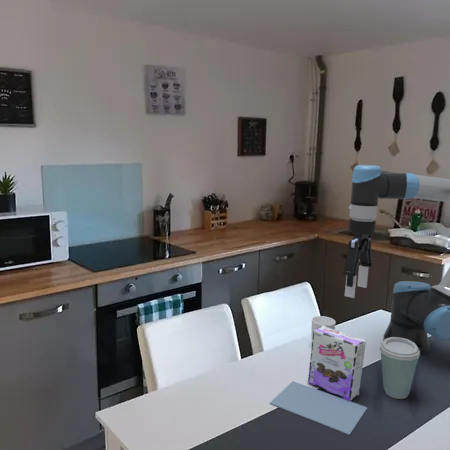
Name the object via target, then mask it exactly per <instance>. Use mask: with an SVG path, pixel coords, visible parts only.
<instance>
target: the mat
mask: <svg viewBox="0 0 450 450" xmlns="http://www.w3.org/2000/svg"><path fill="white" fill-rule="evenodd" d="M269 404H270V405H272V406H274V407H276V408H279V409H282V410H283V411H284V410H285V411H287V412H289V413H292V414H294V415H298V416H300V417H302V418H304V419H307V420H309V421H312V422H315V423H317V424H320V425H321V426H324V427H325V426H326V427H327V428H329V429H332V430H334V431H337V432H339V433H343V434H345V435H346V436H350V435H351V434H352V433H353V431H354V429H355V428H356V426H357V424H359V422H360V420H361V419H362V418H363V415H364V414H365V413H366V411H367V410H368V407H367V406H364V405H362V404H359V403H357V402H353V401H352V400H351V401H348V400H346V399H344V398H342V397H339V396H337V395H335V394H332V393H331V394H330V393H329V392H328V393H327V392H326V391H322V390H319V389H316V388H315V387H311V386H308V385H304V384H302V383H299V382H296V381H293V380H292V381H291V382H290V383H289V384H288V385H286V387H285V388H284V389H283V390H282V391H281V392H279V393H278V394H277V395H276V396H275V398H272V400H271V401H270V402H269Z"/></svg>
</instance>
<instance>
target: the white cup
mask: <svg viewBox="0 0 450 450" xmlns="http://www.w3.org/2000/svg"><path fill="white" fill-rule="evenodd" d="M321 326H326V327H328V328H331V329H334V330H336V320H335V319H333V318H332V317H328V316H323V315H317V316H314V317H312V318H311V341H312V340H313V331H314V330H315V329H317V328H319V327H321Z"/></svg>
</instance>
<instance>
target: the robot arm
mask: <svg viewBox="0 0 450 450" xmlns="http://www.w3.org/2000/svg"><path fill="white" fill-rule="evenodd" d="M350 190H351V192H350V205H349V206H348V210H349V217H350V218H349V219H348V225H347V226H348V229H347V230H348V232H349V233H352V234H353V237H352V239H349V240H348V248H347V253H346V259H345V265H344V269H343V272H342V274H343V275H345V285H344V287H345V289H344V297H347V298H351V299H354V298H356V297H355V295H356V284H357V287H360V288H365V289H367V287H368V279H369V276H368V275H369V268H370V267H372V266H373V263H372V239H373V234H375V233H376V225H377V223H376V219H377V217H378V216H377V215H378V206H379V205H378V204H379V199H380V200H383V199H386V200H387V199H389V200H390V199H393V200H394V199H395V200H407V199H418V200H420V199H421V200H427V201H436V202H445V203H449V204H450V178H444V177H438V176H437V177H436V176H429V175H428V176H427V175H421V174H415V173H411V172H410V173H408V172H396V171H389V170H388V171H387V170H382V168H381V167H380V166H379V165H369V164H368V165H367V164H364V165H363V164H359V165H356V166H354V168H353V172H352V179H351V189H350ZM359 263H360V265H359ZM357 269H358V275H356V274H357V273H356V272H357ZM357 276H358V277H357ZM390 311H391V313H390V321H389V324H388V326H387V327H386V330H385V332H384V334H383V337H382V342H383V341H384V339H387V338H390V337H399V338H405V339H408V340H410V341H412V342H414V343H415V344H416V345H417V347H418V349H419V351H420V356H423V355H425V354H427V353H429V352H430V351H429V350H430V340H429V336H428V335H430V336H431V337H434V338H436V339H438V340H443V341H447V340H450V266H449V268H448V269H447V271H446V272H445V274H444V276H443V278H441V281H440V282H439V284H436V285H432V286H431V285H430V284H429V283H426V282H421V281H412V280H402V281H398V282H396V283H395V284H394V286H393V291H392V302H391V310H390Z"/></svg>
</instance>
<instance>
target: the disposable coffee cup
mask: <svg viewBox="0 0 450 450" xmlns="http://www.w3.org/2000/svg"><path fill="white" fill-rule="evenodd" d="M379 350H380V361H381V374H382V383H383V390H384V393H385V394H386V395H387V396H389V397H390V398H393V399H397V400H404V399H407V398H408V396H409V395H410V391H411V388H412V383H413V381H414V376H415V373H416V369H417V364H418V361H419V358H420V356H421V355H420V351H419V349H418V347H417V345H416V344H415V343H414V342H412V341H410V340H408V339H405V338H399V337H390V338H387V339H384V341H383V340H382V343H381V344H380V345H379Z"/></svg>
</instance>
